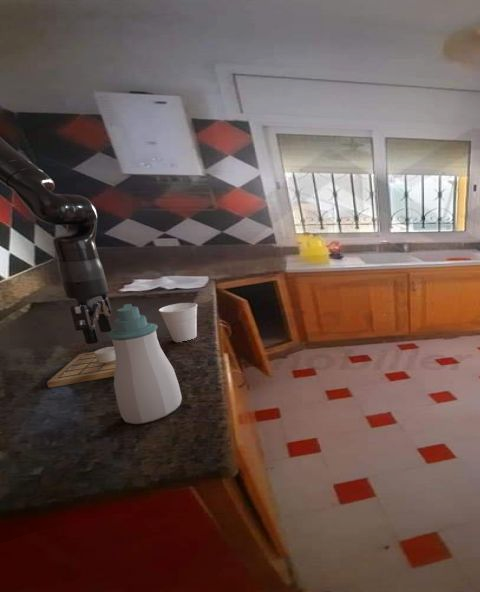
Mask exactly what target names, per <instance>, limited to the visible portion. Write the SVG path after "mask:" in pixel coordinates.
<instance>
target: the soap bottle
mask: <svg viewBox="0 0 480 592" xmlns="http://www.w3.org/2000/svg"><path fill="white" fill-rule="evenodd" d="M116 312H117V317H118V318H116V319H115V320H114V321H113V322H114V326H115V328H114V329H112V330H111V331H110V332H107V334H106V337H107V338H108V339H109V340H111V343H112V345H113V346H114V350H115V356H116V360H115V375H114V376H113V387H114V393H115V398H116V403H117V406H118V410H119V413H120V417H121V418H122V419H123V421H124V422H125V423H127V424H132V425H142V424H147V423H151V422H155V421H157V420H160V419H162V418H166V417H167V416H169V415H170V414H172V413H174V412H175V411H176V410H177V409H178V408H179V407H180V405H181V403H182V401H183V400H182V399H183V398H182V393H181V388H180V384H179V381H178V378H177V375H176V372H175V369H174V367H173V366H172V363H170V360H169V359H168V358H167V356H166V354H165V353H164V351H163V349H162V347H161V345H160V342H159V340H158V335H157V329H158V327H159V326H158V325H157V324H156V323H152V322H151V323H150V322H147V317H146V315H144V314H140V311H139V307H138V306H132V303H126V304H123V307H121V308H118V309H116Z"/></svg>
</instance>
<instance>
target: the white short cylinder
mask: <svg viewBox="0 0 480 592" xmlns="http://www.w3.org/2000/svg"><path fill="white" fill-rule="evenodd" d="M93 352H94V354H95V357H96V360H97V362H98V363H107V362H111V361H114V360H116V356H115V350H114V346H107V347H102V348H99V349H97V350H95V351H93Z"/></svg>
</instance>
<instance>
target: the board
mask: <svg viewBox="0 0 480 592" xmlns="http://www.w3.org/2000/svg"><path fill="white" fill-rule="evenodd" d="M94 352H95V351H90V352H84V353H79V354H78V355H77V356H76V357H74V358H73V359H72V360H70V362H69V363H67V364H66V365H65V366H64V367H63V368H61V370H60V371H58V372H57V373H56V374H54V375H53V376H52V377H51V378H50V379H49V380H48V381H47V382H46V385H47V387H48V388H49V389H50V388H56V387H62V386H68V385H72V384H79V383H83V382H90V381H95V380H101V379H107V378H114V375H115V360H114V361H111V362H107V363H98V362H97V360H96V357H95V354H94Z"/></svg>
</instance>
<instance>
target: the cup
mask: <svg viewBox="0 0 480 592" xmlns="http://www.w3.org/2000/svg"><path fill="white" fill-rule="evenodd" d="M158 312H159V313H160V316H161V318H162V319H163V321H164V323H165V326H166V328H167V331H168V332H169V334H170V337H171V339H172V340H173V342H175V343H179V342H180V343H183V342H182V341H187V340H191V339H193V340H195V339H196V338H197V337H198V335H197V334H198V331H197V327H198V326H197V324H198V323H197V321H198V320H197V316H198V304H197V303H195V302H180V303H174V304H173V303H172V304H169V305H165V306H163V307H160V308H159V309H158ZM194 338H195V339H194ZM191 341H192V340H191ZM187 342H188V341H187Z"/></svg>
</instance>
